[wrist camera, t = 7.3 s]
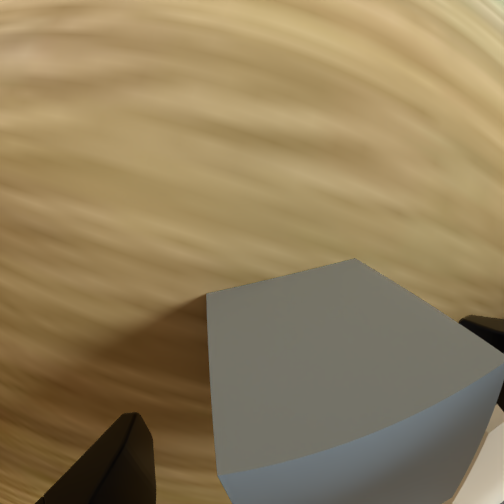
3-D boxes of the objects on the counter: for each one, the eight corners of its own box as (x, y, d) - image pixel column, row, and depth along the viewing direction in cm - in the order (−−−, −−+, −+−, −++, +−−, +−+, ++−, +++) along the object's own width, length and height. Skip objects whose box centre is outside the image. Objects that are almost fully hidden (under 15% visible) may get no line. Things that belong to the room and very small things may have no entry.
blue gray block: (354, 258, 9) (509, 358, 3) (360, 374, 10) (451, 497, 5) (206, 293, 9) (216, 475, 3) (238, 409, 10) (272, 567, 4)
